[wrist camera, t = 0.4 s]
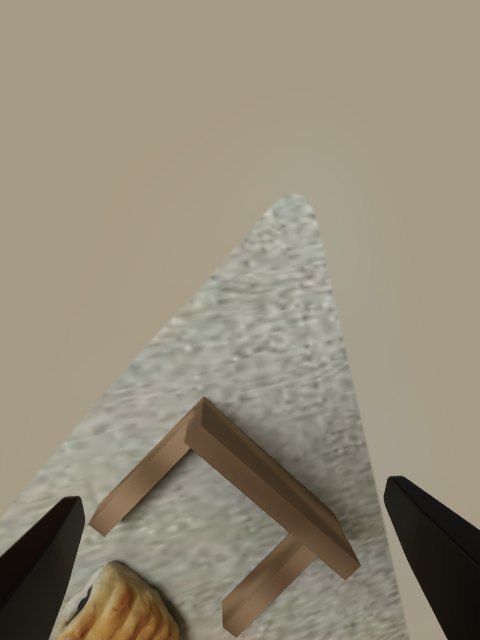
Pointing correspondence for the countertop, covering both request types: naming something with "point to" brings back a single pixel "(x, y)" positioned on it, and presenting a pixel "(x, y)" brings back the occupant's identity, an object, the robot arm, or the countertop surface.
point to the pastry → (117, 609)
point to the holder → (258, 485)
